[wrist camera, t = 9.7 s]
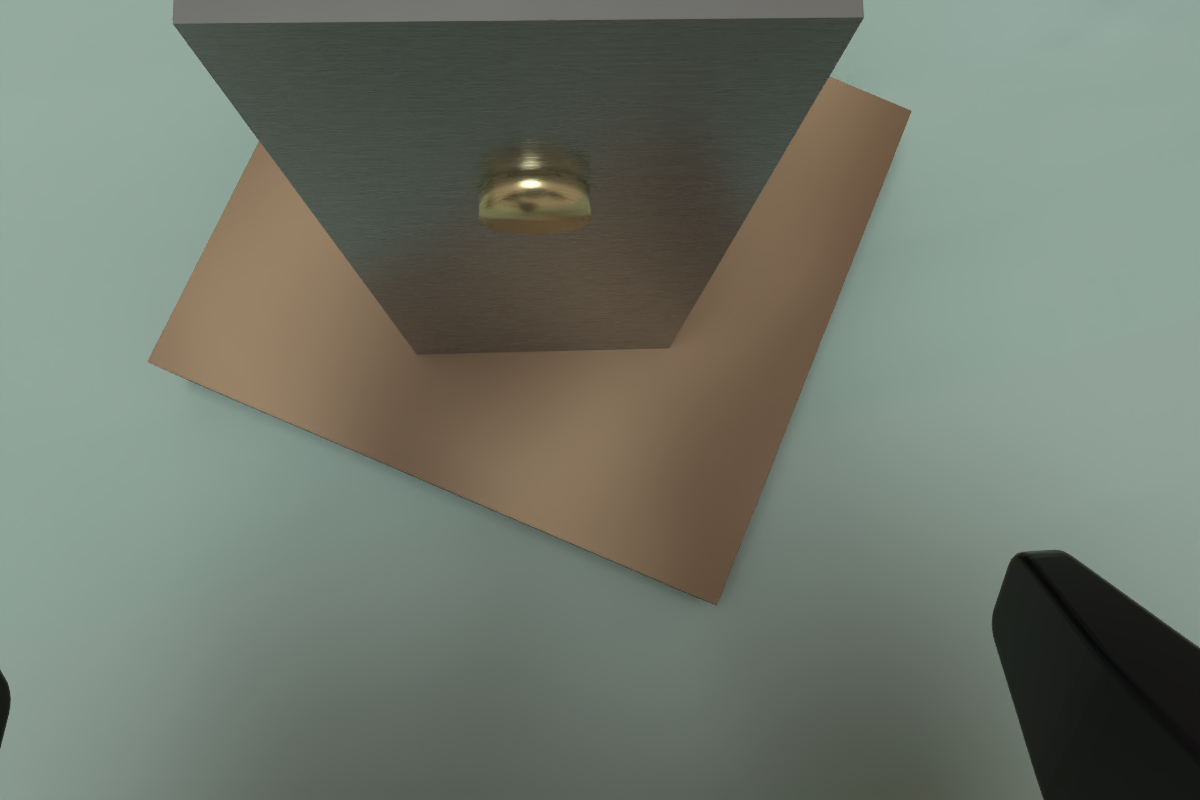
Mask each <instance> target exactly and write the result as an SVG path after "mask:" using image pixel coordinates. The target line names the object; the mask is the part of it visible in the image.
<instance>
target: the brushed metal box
mask: <svg viewBox="0 0 1200 800" xmlns="http://www.w3.org/2000/svg"><path fill="white" fill-rule="evenodd" d="M863 18H864V11H863V0H174V3H173V24H174V26H175V27H176V29H177V30H178V31H179V33H180V34H181V35H182V37H183V38H184V39H185V41H186V42H187V43H188V45H189V46H190V48H191V49H192V50H193V52H194V53H195V54H196V56H197V57H198V58H199V60H200V61H201V62H202V64H203V65H204V67H205V68H206V69H207V71H208V72H209V73H210V75H211V76H212V77H213V79H214V80H215V81H216V83H217V84H218V86H219V87H220V88H221V90H222V91H223V92H224V94H225V95H226V96H227V98H228V99H229V100H230V102H231V103H232V105H233V106H234V107H235V109H236V110H237V111H238V113H239V114H240V115H241V117H242V118H243V119H244V121H245V122H246V124H247V125H248V126H249V128H250V129H251V130H252V132H253V133H254V134H255V136H256V137H257V138H258V140H259V141H260V143H261V144H262V145H263V147H264V148H265V149H266V151H267V152H268V153H269V155H270V156H271V157H272V159H273V160H274V162H275V163H276V164H277V166H278V167H279V168H280V170H281V171H282V172H283V174H284V175H285V176H286V178H287V179H288V180H289V182H290V183H291V185H292V186H293V187H294V189H295V190H296V191H297V193H298V194H299V195H300V197H301V198H302V199H303V201H304V202H305V204H306V205H307V206H308V208H309V209H310V210H311V212H312V213H313V214H314V216H315V217H316V218H317V220H318V221H319V223H320V224H321V225H322V227H323V228H324V229H325V231H326V232H327V233H328V235H329V236H330V237H331V239H332V240H333V242H334V243H335V244H336V246H337V247H338V248H339V250H340V251H341V252H342V254H343V255H344V256H345V258H346V259H347V261H348V262H349V263H350V265H351V266H352V267H353V269H354V270H355V271H356V273H357V274H358V275H359V277H360V278H361V280H362V281H363V282H364V284H365V285H366V286H367V288H368V289H369V290H370V292H371V293H372V294H373V296H374V297H375V299H376V300H377V301H378V303H379V304H380V305H381V307H382V308H383V309H384V311H385V312H386V313H387V315H388V316H389V318H390V319H391V320H392V322H393V323H394V324H395V326H396V327H397V328H398V330H399V331H400V332H401V334H402V335H403V337H404V338H405V339H406V341H407V342H408V343H409V345H410V346H411V347H412V349H413V350H414V351H415V353H416V354H417V355H426V354H465V353H504V352H542V351H581V350H620V349H659V348H670V346H671V345H672V343H673V341H674V340H675V338H676V336H677V334H678V333H679V331H680V329H681V328H682V326H683V324H684V323H685V321H686V319H687V317H688V316H689V314H690V312H691V311H692V309H693V307H694V306H695V304H696V302H697V300H698V299H699V297H700V295H701V294H702V292H703V290H704V289H705V287H706V285H707V283H708V282H709V280H710V278H711V277H712V275H713V273H714V272H715V270H716V268H717V266H718V265H719V263H720V261H721V260H722V258H723V256H724V255H725V253H726V251H727V249H728V248H729V246H730V244H731V243H732V241H733V239H734V238H735V236H736V234H737V232H738V231H739V229H740V227H741V226H742V224H743V222H744V221H745V219H746V217H747V215H748V214H749V212H750V210H751V209H752V207H753V205H754V204H755V202H756V200H757V198H758V197H759V195H760V193H761V192H762V190H763V188H764V186H765V185H766V183H767V181H768V180H769V178H770V176H771V175H772V173H773V171H774V169H775V168H776V166H777V164H778V163H779V161H780V159H781V158H782V156H783V154H784V152H785V151H786V149H787V147H788V146H789V144H790V142H791V141H792V139H793V137H794V135H795V134H796V132H797V130H798V129H799V127H800V125H801V124H802V122H803V120H804V118H805V117H806V115H807V113H808V112H809V110H810V108H811V107H812V105H813V103H814V101H815V100H816V98H817V96H818V95H819V93H820V91H821V90H822V88H823V86H824V84H825V83H826V81H827V79H828V78H829V76H830V74H831V73H832V71H833V69H834V67H835V66H836V64H837V62H838V61H839V59H840V57H841V56H842V54H843V52H844V50H845V49H846V47H847V45H848V44H849V42H850V40H851V39H852V37H853V35H854V33H855V32H856V30H857V28H858V27H859V25H860V23H861V22H862V20H863Z"/></svg>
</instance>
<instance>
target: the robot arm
mask: <svg viewBox="0 0 1200 800" xmlns="http://www.w3.org/2000/svg"><path fill="white" fill-rule="evenodd" d="M992 631H993V637H994V641H995V644H996V647H997V651H998V654H999V657H1000V660H1001V664H1002V667H1003V670H1004V674H1005V677H1006V680H1007V683H1008V687H1009V690H1010V693H1011V697H1012V700H1013V703H1014V706H1015V710H1016V713H1017V716H1018V719H1019V723H1020V726H1021V729H1022V733H1023V736H1024V739H1025V742H1026V746H1027V749H1028V752H1029V755H1030V759H1031V762H1032V765H1033V769H1034V772H1035V775H1036V778H1037V781H1038V784H1039V787H1040V790H1041V793H1042V796H1043V799H1044V800H1200V648H1199V647H1198V646H1196V645H1195V644H1193V643H1192V642H1191V641H1189V640H1188V639H1187V638H1185V637H1184V636H1182V635H1181V634H1180V633H1178V632H1177V631H1175V630H1174V629H1173V628H1171V627H1170V626H1169V625H1167V624H1166V623H1164V622H1163V621H1162V620H1160V619H1159V618H1157V617H1156V616H1155V615H1153V614H1152V613H1150V612H1149V611H1148V610H1146V609H1145V608H1144V607H1142V606H1141V605H1139V604H1138V603H1137V602H1135V601H1134V600H1132V599H1131V598H1130V597H1128V596H1127V595H1125V594H1124V593H1123V592H1121V591H1120V590H1119V589H1117V588H1116V587H1114V586H1113V585H1112V584H1110V583H1109V582H1107V581H1106V580H1105V579H1103V578H1102V577H1100V576H1099V575H1098V574H1096V573H1095V572H1094V571H1092V570H1091V569H1089V568H1088V567H1087V566H1085V565H1084V564H1082V563H1081V562H1080V561H1078V560H1077V559H1076V558H1074V557H1073V556H1071V555H1069V554H1068V553H1066V552H1063V551H1060V550H1043V551H1028V552H1021V553H1017V554H1016V555H1015V556H1014V557H1013V558H1012V559H1011V561H1010V563H1009V565H1008V568H1007V571H1006V574H1005V577H1004V580H1003V583H1002V586H1001V589H1000V592H999V595H998V598H997V601H996V604H995V607H994V611H993V615H992ZM10 700H11V699H10V690H9V686H8V683H7V681H6V679H5V677H4V675H3V674H2V672H1V670H0V748H1V744H2V740H3V736H4V732H5V728H6V723H7V719H8V715H9V710H10Z"/></svg>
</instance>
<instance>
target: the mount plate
mask: <svg viewBox="0 0 1200 800" xmlns="http://www.w3.org/2000/svg"><path fill="white" fill-rule="evenodd" d="M910 114H911V111H910V110H908V109H906V108H903V107H901V106H899V105H896V104H894V103H891V102H889V101H887V100H884V99H882V98H879V97H877V96H875V95H872V94H870V93H867V92H865V91H863V90H860V89H858V88H855V87H853V86H851V85H848V84H846V83H843V82H841V81H839V80H836V79H834V78H832V77H829V78H828V79H827V81H826V83H825V84H824V86H823V88H822V90H821V91H820V93H819V95H818V96H817V98H816V100H815V101H814V103H813V105H812V107H811V108H810V110H809V112H808V113H807V115H806V117H805V118H804V120H803V122H802V124H801V125H800V127H799V129H798V130H797V132H796V134H795V135H794V137H793V139H792V141H791V142H790V144H789V146H788V147H787V149H786V151H785V152H784V154H783V156H782V158H781V159H780V161H779V163H778V164H777V166H776V168H775V169H774V171H773V173H772V175H771V176H770V178H769V180H768V181H767V183H766V185H765V186H764V188H763V190H762V192H761V193H760V195H759V197H758V198H757V200H756V202H755V204H754V205H753V207H752V209H751V210H750V212H749V214H748V215H747V217H746V219H745V221H744V222H743V224H742V226H741V227H740V229H739V231H738V232H737V234H736V236H735V238H734V239H733V241H732V243H731V244H730V246H729V248H728V249H727V251H726V253H725V255H724V256H723V258H722V260H721V261H720V263H719V265H718V266H717V268H716V270H715V272H714V273H713V275H712V277H711V278H710V280H709V282H708V283H707V285H706V287H705V289H704V290H703V292H702V294H701V295H700V297H699V299H698V300H697V302H696V304H695V306H694V307H693V309H692V311H691V312H690V314H689V316H688V317H687V319H686V321H685V323H684V324H683V326H682V328H681V329H680V331H679V333H678V334H677V336H676V338H675V340H674V341H673V343H672V345H671V346H670V348H659V349H620V350H581V351H542V352H504V353H465V354H426V355H417V354H416V353H415V351H414V350H413V349H412V347H411V346H410V345H409V343H408V342H407V341H406V339H405V338H404V337H403V335H402V334H401V332H400V331H399V330H398V328H397V327H396V326H395V324H394V323H393V322H392V320H391V319H390V318H389V316H388V315H387V313H386V312H385V311H384V309H383V308H382V307H381V305H380V304H379V303H378V301H377V300H376V299H375V297H374V296H373V294H372V293H371V292H370V290H369V289H368V288H367V286H366V285H365V284H364V282H363V281H362V280H361V278H360V277H359V275H358V274H357V273H356V271H355V270H354V269H353V267H352V266H351V265H350V263H349V262H348V261H347V259H346V258H345V256H344V255H343V254H342V252H341V251H340V250H339V248H338V247H337V246H336V244H335V243H334V242H333V240H332V239H331V237H330V236H329V235H328V233H327V232H326V231H325V229H324V228H323V227H322V225H321V224H320V223H319V221H318V220H317V218H316V217H315V216H314V214H313V213H312V212H311V210H310V209H309V208H308V206H307V205H306V204H305V202H304V201H303V199H302V198H301V197H300V195H299V194H298V193H297V191H296V190H295V189H294V187H293V186H292V185H291V183H290V182H289V180H288V179H287V178H286V176H285V175H284V174H283V172H282V171H281V170H280V168H279V167H278V166H277V164H276V163H275V162H274V160H273V159H272V157H271V156H270V155H269V153H268V152H267V151H266V149H265V148H264V147H263V145H262V144H261V143H260V141H259V142H258V144H257V146H256V148H255V150H254V152H253V154H252V156H251V158H250V160H249V162H248V164H247V166H246V168H245V170H244V172H243V174H242V176H241V178H240V180H239V182H238V184H237V186H236V188H235V190H234V192H233V194H232V196H231V198H230V200H229V202H228V204H227V206H226V208H225V210H224V212H223V214H222V216H221V217H220V219H219V221H218V223H217V225H216V227H215V229H214V231H213V233H212V235H211V237H210V239H209V241H208V243H207V245H206V247H205V249H204V251H203V253H202V255H201V257H200V259H199V261H198V263H197V265H196V267H195V269H194V271H193V273H192V275H191V277H190V279H189V281H188V283H187V285H186V287H185V289H184V291H183V293H182V295H181V296H180V298H179V300H178V302H177V304H176V306H175V308H174V310H173V312H172V314H171V316H170V318H169V320H168V322H167V324H166V326H165V328H164V330H163V332H162V334H161V336H160V338H159V340H158V342H157V344H156V346H155V348H154V350H153V352H152V354H151V356H150V358H149V360H148V362H149V363H151V364H153V365H155V366H158V367H160V368H162V369H164V370H167V371H169V372H171V373H174V374H176V375H178V376H180V377H183V378H185V379H187V380H189V381H192V382H194V383H196V384H199V385H201V386H203V387H206V388H208V389H211V390H213V391H215V392H218V393H220V394H222V395H225V396H227V397H229V398H232V399H234V400H236V401H239V402H241V403H243V404H246V405H248V406H250V407H253V408H255V409H257V410H260V411H262V412H264V413H267V414H269V415H271V416H274V417H276V418H278V419H281V420H283V421H285V422H288V423H290V424H292V425H295V426H297V427H299V428H302V429H304V430H306V431H309V432H311V433H313V434H316V435H318V436H320V437H323V438H325V439H328V440H330V441H332V442H335V443H337V444H339V445H342V446H344V447H346V448H349V449H351V450H353V451H356V452H358V453H360V454H363V455H365V456H367V457H370V458H372V459H374V460H377V461H379V462H381V463H384V464H386V465H388V466H391V467H393V468H395V469H398V470H400V471H402V472H405V473H407V474H409V475H412V476H414V477H416V478H419V479H421V480H423V481H426V482H428V483H430V484H433V485H435V486H437V487H440V488H442V489H445V490H447V491H449V492H452V493H454V494H456V495H459V496H461V497H463V498H466V499H468V500H470V501H473V502H475V503H477V504H480V505H482V506H484V507H487V508H489V509H491V510H494V511H496V512H498V513H501V514H503V515H505V516H508V517H510V518H512V519H515V520H517V521H519V522H522V523H524V524H526V525H529V526H531V527H533V528H536V529H538V530H540V531H543V532H545V533H547V534H550V535H552V536H554V537H557V538H559V539H562V540H564V541H566V542H569V543H571V544H573V545H576V546H578V547H580V548H583V549H585V550H587V551H590V552H592V553H594V554H597V555H599V556H601V557H604V558H606V559H608V560H611V561H613V562H615V563H618V564H620V565H622V566H625V567H627V568H629V569H632V570H634V571H636V572H639V573H641V574H643V575H646V576H648V577H650V578H653V579H655V580H657V581H660V582H662V583H664V584H667V585H669V586H671V587H674V588H676V589H679V590H681V591H683V592H686V593H688V594H690V595H693V596H695V597H697V598H700V599H702V600H705V601H707V602H710V603H712V604H715V605H717V603H718V600H719V598H720V595H721V593H722V590H723V588H724V585H725V583H726V580H727V578H728V575H729V573H730V570H731V567H732V565H733V562H734V560H735V557H736V555H737V552H738V550H739V547H740V545H741V542H742V540H743V537H744V535H745V532H746V529H747V527H748V524H749V522H750V519H751V517H752V514H753V512H754V509H755V507H756V504H757V502H758V499H759V496H760V494H761V491H762V489H763V486H764V484H765V481H766V479H767V476H768V474H769V471H770V469H771V466H772V464H773V461H774V458H775V456H776V453H777V451H778V448H779V446H780V443H781V441H782V438H783V436H784V433H785V431H786V428H787V425H788V423H789V420H790V418H791V415H792V413H793V410H794V408H795V405H796V403H797V400H798V398H799V395H800V393H801V390H802V387H803V385H804V382H805V380H806V377H807V375H808V372H809V370H810V367H811V365H812V362H813V360H814V357H815V354H816V352H817V349H818V347H819V344H820V342H821V339H822V337H823V334H824V332H825V329H826V327H827V324H828V322H829V319H830V316H831V314H832V311H833V309H834V306H835V304H836V301H837V299H838V296H839V294H840V291H841V289H842V286H843V284H844V281H845V278H846V276H847V273H848V271H849V268H850V266H851V263H852V261H853V258H854V256H855V253H856V251H857V248H858V245H859V243H860V240H861V238H862V235H863V233H864V230H865V228H866V225H867V223H868V220H869V218H870V215H871V213H872V210H873V207H874V205H875V202H876V200H877V197H878V195H879V192H880V190H881V187H882V185H883V182H884V180H885V177H886V174H887V172H888V169H889V167H890V164H891V162H892V159H893V157H894V154H895V152H896V149H897V147H898V144H899V142H900V139H901V136H902V134H903V131H904V129H905V126H906V124H907V121H908V119H909V116H910Z"/></svg>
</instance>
